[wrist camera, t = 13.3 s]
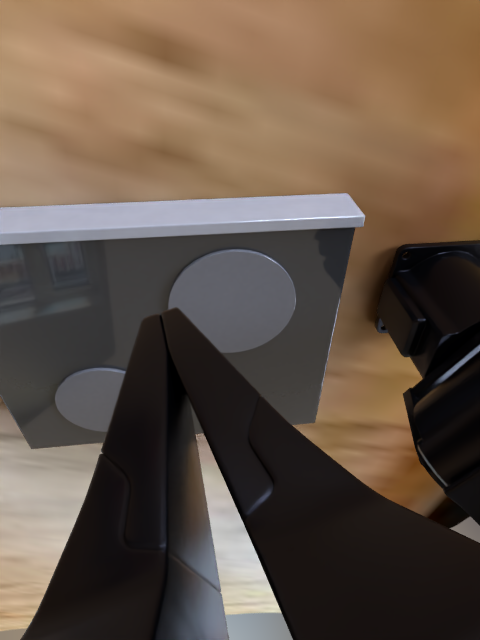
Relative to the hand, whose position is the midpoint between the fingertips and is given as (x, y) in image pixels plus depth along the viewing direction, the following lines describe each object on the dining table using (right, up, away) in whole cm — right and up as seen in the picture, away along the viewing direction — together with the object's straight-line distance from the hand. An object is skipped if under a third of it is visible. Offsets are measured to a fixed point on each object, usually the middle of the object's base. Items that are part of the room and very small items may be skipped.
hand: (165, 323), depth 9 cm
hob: (-3, 0, +16) cm, 16 cm away
